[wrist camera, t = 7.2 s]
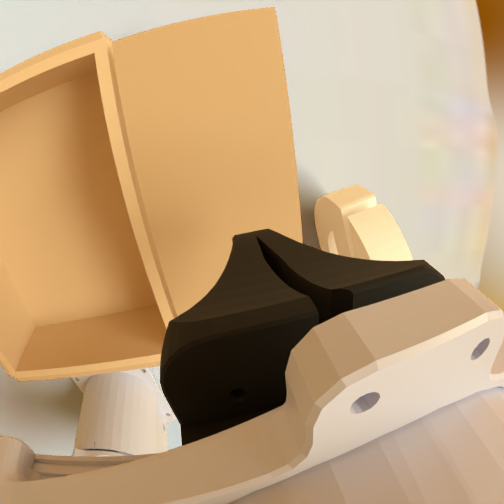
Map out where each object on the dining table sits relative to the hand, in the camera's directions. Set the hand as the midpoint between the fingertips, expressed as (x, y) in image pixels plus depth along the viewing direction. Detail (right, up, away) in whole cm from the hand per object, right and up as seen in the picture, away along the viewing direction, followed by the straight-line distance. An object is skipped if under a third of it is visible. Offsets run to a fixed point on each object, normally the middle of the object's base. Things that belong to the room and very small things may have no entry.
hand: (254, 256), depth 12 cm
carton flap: (-2, +2, +3) cm, 4 cm away
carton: (-13, +3, +7) cm, 15 cm away
